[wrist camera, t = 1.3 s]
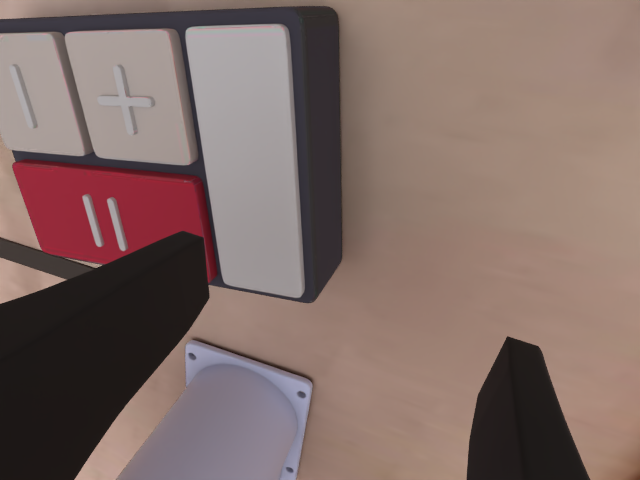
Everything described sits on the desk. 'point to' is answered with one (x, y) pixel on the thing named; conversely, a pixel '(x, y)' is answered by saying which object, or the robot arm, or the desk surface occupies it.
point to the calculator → (182, 138)
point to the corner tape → (41, 260)
